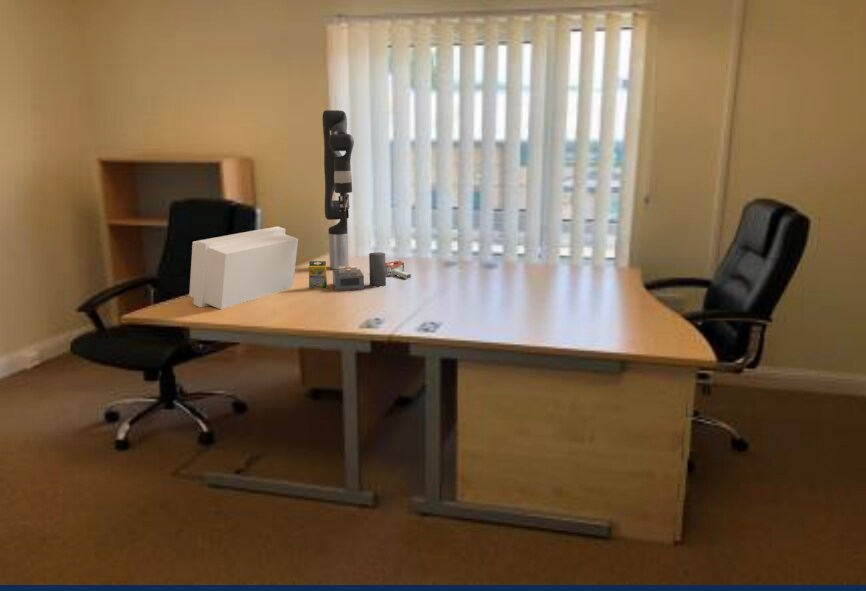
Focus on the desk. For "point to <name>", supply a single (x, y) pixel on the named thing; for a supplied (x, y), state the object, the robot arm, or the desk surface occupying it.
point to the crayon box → (317, 274)
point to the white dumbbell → (352, 269)
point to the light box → (242, 267)
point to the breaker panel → (348, 280)
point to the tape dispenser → (397, 269)
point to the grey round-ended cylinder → (377, 269)
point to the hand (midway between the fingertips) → (344, 219)
